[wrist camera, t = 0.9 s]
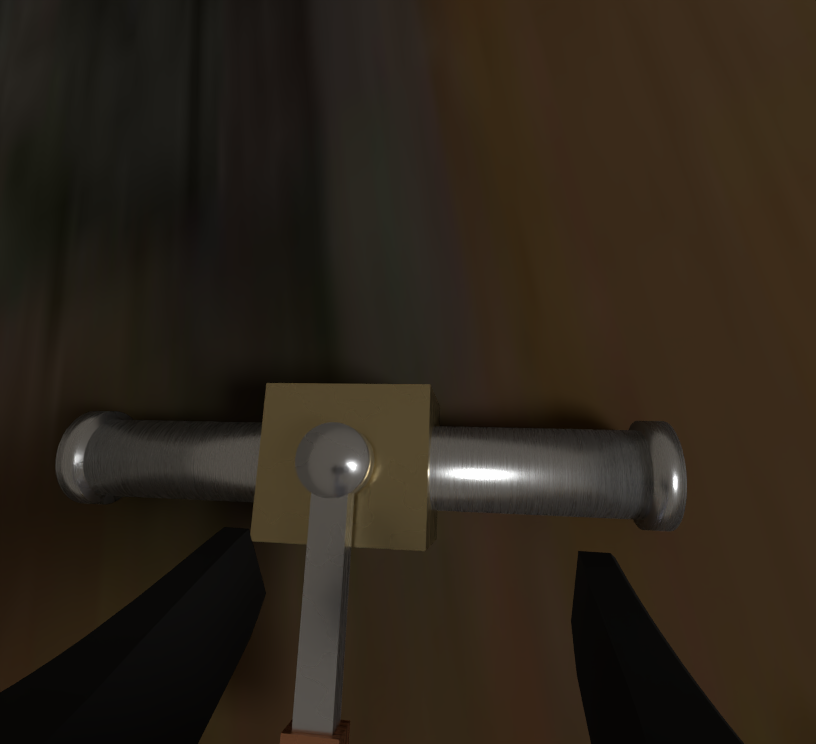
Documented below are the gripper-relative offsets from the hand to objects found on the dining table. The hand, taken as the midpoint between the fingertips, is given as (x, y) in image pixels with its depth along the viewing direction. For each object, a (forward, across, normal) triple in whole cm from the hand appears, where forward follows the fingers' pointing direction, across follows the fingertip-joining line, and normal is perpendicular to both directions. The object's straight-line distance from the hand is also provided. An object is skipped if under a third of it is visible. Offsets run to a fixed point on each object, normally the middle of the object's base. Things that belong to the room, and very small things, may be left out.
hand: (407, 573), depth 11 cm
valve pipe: (+12, +4, +6) cm, 14 cm away
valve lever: (+4, +4, +7) cm, 9 cm away
